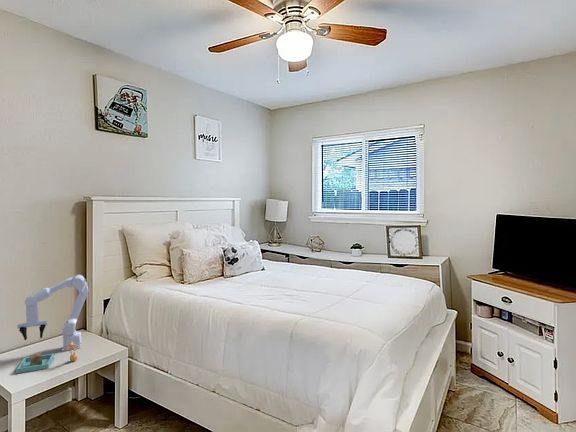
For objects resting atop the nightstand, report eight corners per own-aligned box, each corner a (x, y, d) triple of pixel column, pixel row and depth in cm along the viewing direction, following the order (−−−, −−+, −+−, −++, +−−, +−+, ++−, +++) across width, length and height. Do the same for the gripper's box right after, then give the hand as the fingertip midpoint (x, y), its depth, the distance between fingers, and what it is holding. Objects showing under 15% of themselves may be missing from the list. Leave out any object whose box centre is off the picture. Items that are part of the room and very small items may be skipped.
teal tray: (54, 357, 204) (54, 353, 204) (48, 368, 191) (48, 364, 191) (25, 362, 199) (24, 357, 199) (16, 373, 186) (16, 369, 186)
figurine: (83, 358, 203) (82, 338, 202) (79, 363, 197) (78, 342, 196) (67, 359, 201) (66, 339, 201) (62, 364, 195) (61, 343, 195)
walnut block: (39, 361, 198) (39, 353, 198) (42, 364, 195) (41, 355, 195) (30, 364, 195) (29, 355, 195) (32, 367, 192) (31, 358, 192)
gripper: (48, 311, 214) (49, 334, 215) (19, 315, 209) (20, 337, 209) (45, 315, 207) (46, 338, 208) (15, 319, 202) (16, 342, 203)
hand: (33, 338), depth 208 cm, fingers open, 7 cm apart
